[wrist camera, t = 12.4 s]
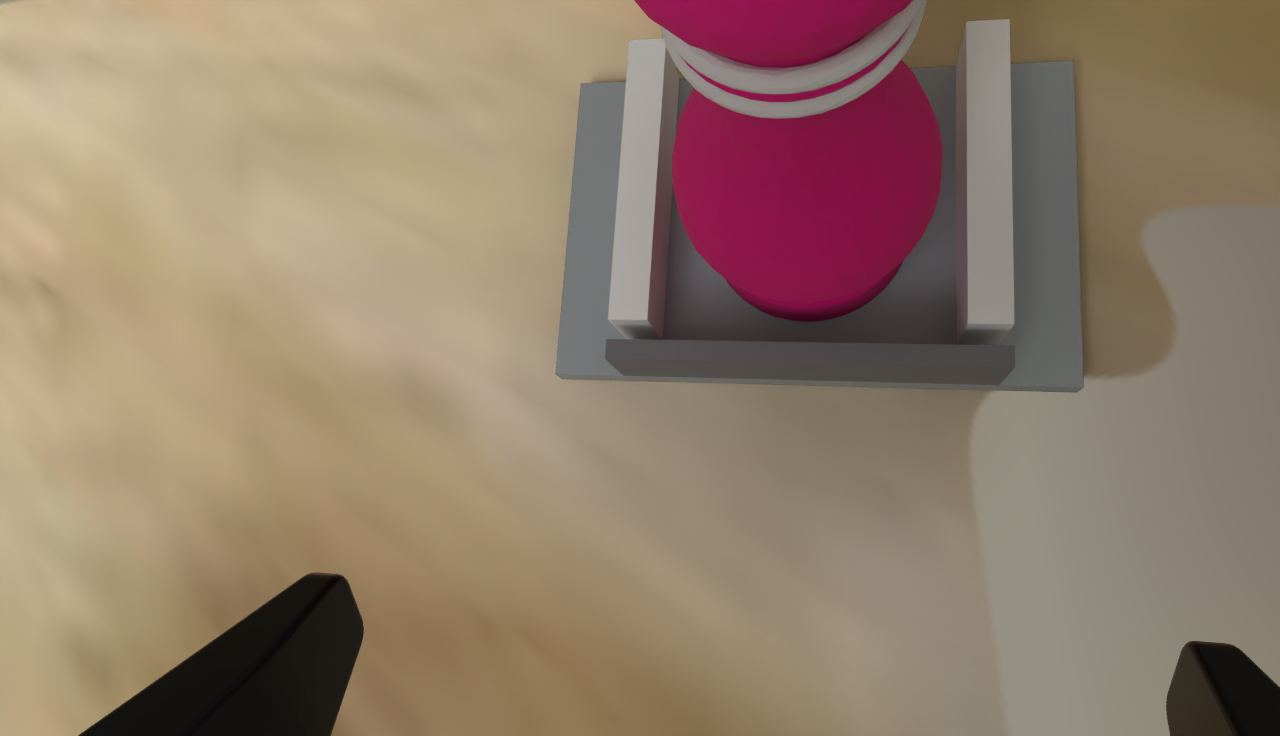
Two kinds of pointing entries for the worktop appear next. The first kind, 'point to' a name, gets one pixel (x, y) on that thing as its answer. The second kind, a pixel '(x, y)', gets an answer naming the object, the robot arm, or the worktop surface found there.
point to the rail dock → (900, 314)
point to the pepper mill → (801, 146)
